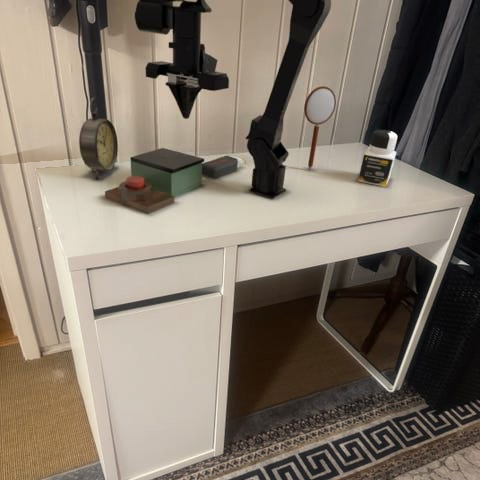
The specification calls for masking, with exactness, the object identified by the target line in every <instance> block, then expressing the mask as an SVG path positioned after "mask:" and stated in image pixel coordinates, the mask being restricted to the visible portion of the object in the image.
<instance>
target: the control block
mask: <svg viewBox="0 0 480 480" xmlns="http://www.w3.org/2000/svg"><path fill="white" fill-rule="evenodd" d="M104 198H105V199H106V200H109V201H112V202H115V203H117V204H120V205H123V206H125V207H128V208H131V209H134V210H136V211H139V212H142V213H144V214H147V215H150V214H152V213H154V212H157V211H159V210H161V209H163V208H166V207H168V206H171V205H173V204H175V197H174V196H172V195H169V194H166V193H163V192H160V191H157V190H154V189H152V185H151V184H150V183H149V182H146V181H145V188H143V189H137V190H135V189H129V188H127V184H126V180H124V181H122V182H120V183H119V185H118V186H116V187H113V188H111V189H108V190H105V191H104Z"/></svg>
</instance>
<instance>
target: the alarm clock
mask: <svg viewBox="0 0 480 480" xmlns="http://www.w3.org/2000/svg"><path fill="white" fill-rule="evenodd" d="M93 101H94V103H95V111H93V109H92V104H93ZM89 110H90V114H92V117H91V118H88V119H86V120H85V121H84V122H83V123H82V125H81V128H80V131H79V135H78V136H79V138H78V145H79V152H80V156H81V158H82V162H83V163H84V164H85V165H86V167H87V168H89V169H90V170H91V172H93V171H95V175H96V176H95V180H99V175H100V171H104V172H109V171H111V170H112V169H113V168H115V165H116V162H117V159H118V153H119V152H118V151H119V145H118V136H117V132H116V131H117V130H116V128H115V126H114V124H113V123H112V122H111V121H110V120H109V119H107V118H99V117H98V116H97V114H98V102H97V99H96V98H95V97H92V98H91V99H90V102H89Z"/></svg>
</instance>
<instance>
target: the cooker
mask: <svg viewBox="0 0 480 480" xmlns="http://www.w3.org/2000/svg"><path fill="white" fill-rule="evenodd" d="M202 163H203V162H202ZM202 163H199V164H197V165H194V166H191V167H188V168H186V169H183V170H180V171H177V172H174V173H173V172H169V171H166V170H162V169H159V168H155V167H152V166H148V165H145V164H141V163H138V162H134V161H131V160H130V175H131V176H139V177H142V178H144V181H146V182H149V183H150V184H151V185H152V189H154V190H157V191H160V192H163V193H166V194H169V195H172V196H174V198H175V197H177V196H180V195H182V194H184V193H187V192H189V191H192V190H194V189H196V188H197V189H198V188H199V187H202V185H203V184H202V183H203V180H202V179H203V175H202Z"/></svg>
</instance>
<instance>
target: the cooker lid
mask: <svg viewBox="0 0 480 480" xmlns="http://www.w3.org/2000/svg"><path fill="white" fill-rule="evenodd" d="M131 161H134V162H138V163H141V164H145V165H148V166H152V167H155V168H159V169H162V170H166V171H169V172H173V173H174V172H177V171H180V170H183V169H186V168H188V167H191V166H194V165H197V164H199V163H205V158H203V157H200V156H195V155H191V154H188V153H185V152H180V151H176V150H172V149H169V148H166V147H165V148H164V147H161V148H157V149H154V150H152V151H148V152H144V153H140V154H137V155H134V156H130V162H131Z"/></svg>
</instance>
